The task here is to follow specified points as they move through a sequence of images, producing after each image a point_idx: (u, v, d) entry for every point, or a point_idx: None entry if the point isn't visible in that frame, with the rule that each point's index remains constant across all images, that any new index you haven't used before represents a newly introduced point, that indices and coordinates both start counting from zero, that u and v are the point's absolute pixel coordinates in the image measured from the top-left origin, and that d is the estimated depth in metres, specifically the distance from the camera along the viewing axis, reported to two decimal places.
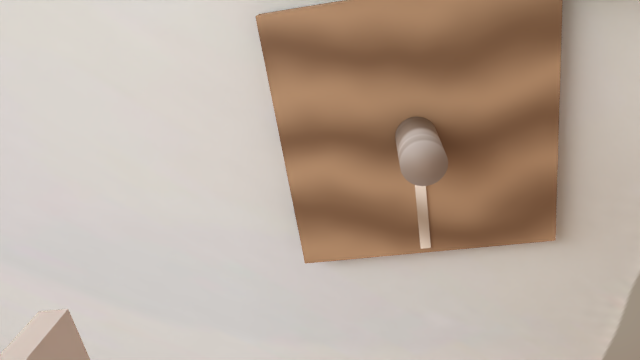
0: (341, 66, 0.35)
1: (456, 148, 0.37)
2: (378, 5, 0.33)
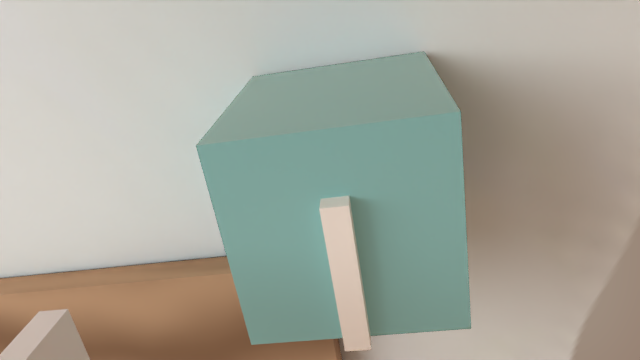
0: None
1: None
2: (83, 296, 0.24)
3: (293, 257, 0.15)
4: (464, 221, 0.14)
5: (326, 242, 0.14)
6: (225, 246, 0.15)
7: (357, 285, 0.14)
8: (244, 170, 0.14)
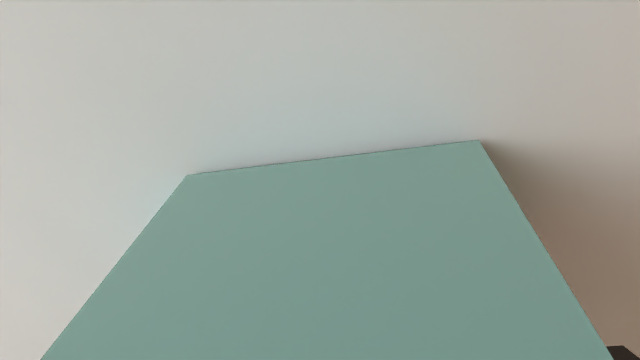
0: None
1: None
2: None
3: None
4: None
5: None
6: None
7: None
8: None
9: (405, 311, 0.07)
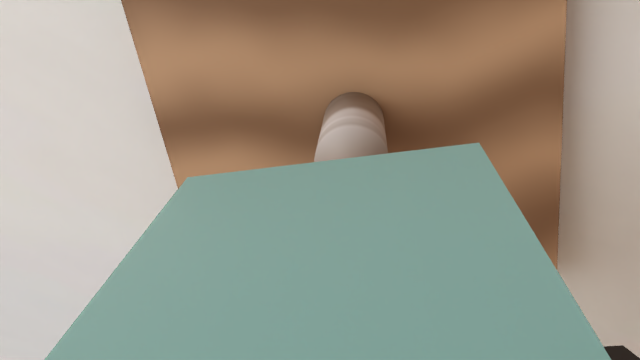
0: (238, 16, 0.24)
1: (413, 139, 0.25)
2: None
3: None
4: None
5: None
6: None
7: None
8: None
9: (406, 315, 0.07)
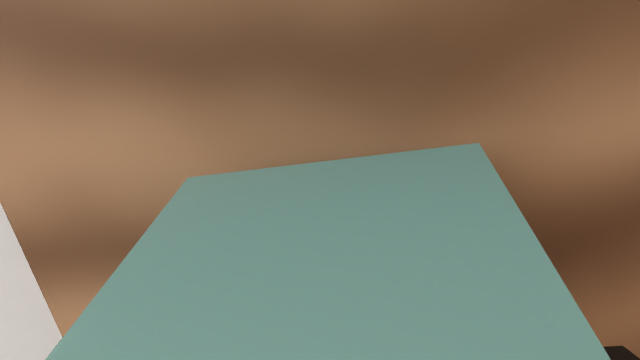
0: (139, 77, 0.13)
1: None
2: None
3: None
4: None
5: None
6: None
7: None
8: None
9: (406, 315, 0.07)
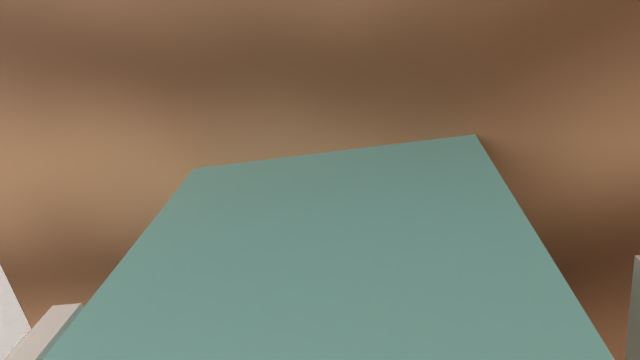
0: (125, 89, 0.12)
1: None
2: None
3: None
4: None
5: None
6: None
7: None
8: None
9: (403, 288, 0.07)
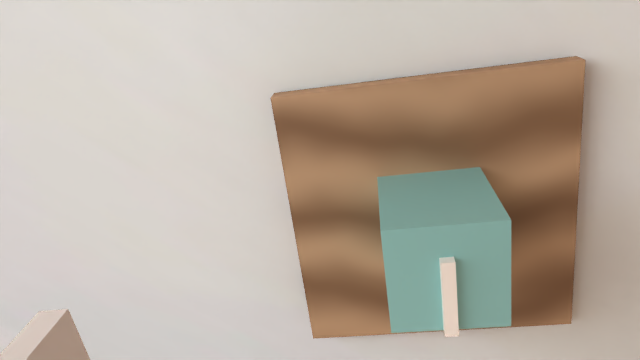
0: (357, 148, 0.35)
1: None
2: (396, 91, 0.33)
3: (421, 287, 0.29)
4: (510, 270, 0.28)
5: (442, 279, 0.28)
6: (386, 280, 0.29)
7: (455, 301, 0.29)
8: (402, 243, 0.28)
9: (463, 205, 0.29)
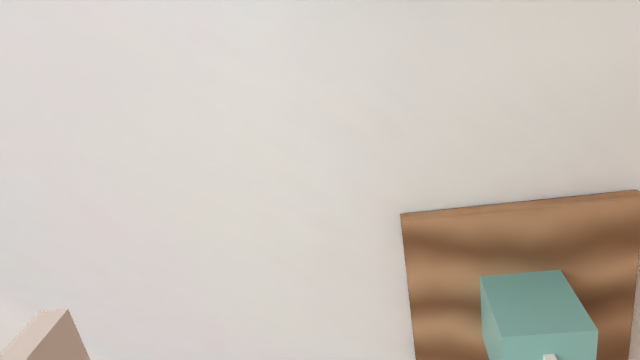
0: (465, 256, 0.45)
1: None
2: (499, 217, 0.43)
3: None
4: None
5: None
6: None
7: None
8: (517, 345, 0.39)
9: (558, 313, 0.40)
